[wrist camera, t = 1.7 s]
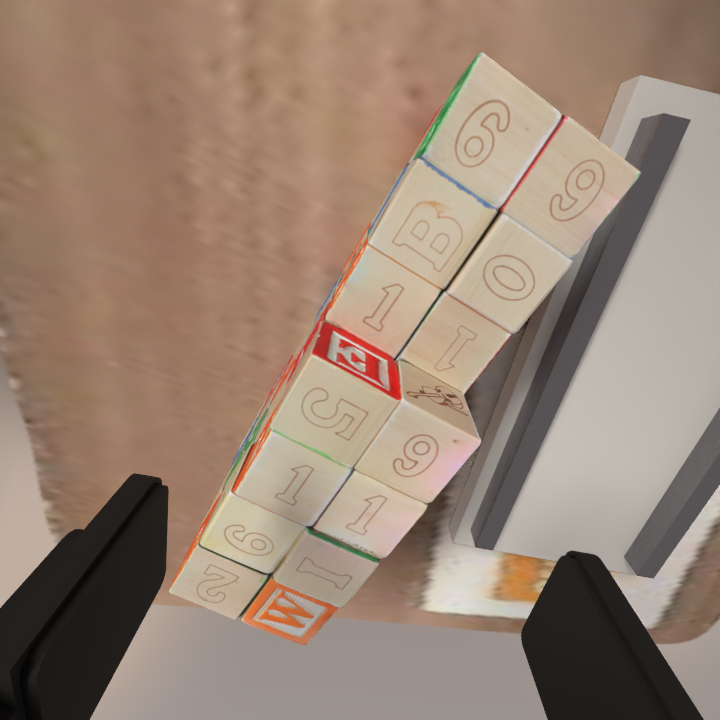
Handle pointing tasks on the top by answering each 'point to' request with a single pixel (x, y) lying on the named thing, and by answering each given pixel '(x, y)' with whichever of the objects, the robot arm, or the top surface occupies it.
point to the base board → (618, 363)
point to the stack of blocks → (401, 355)
